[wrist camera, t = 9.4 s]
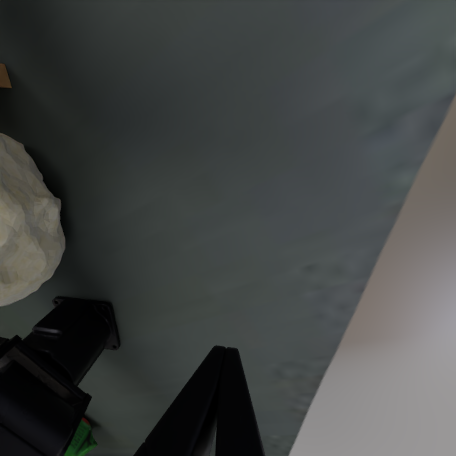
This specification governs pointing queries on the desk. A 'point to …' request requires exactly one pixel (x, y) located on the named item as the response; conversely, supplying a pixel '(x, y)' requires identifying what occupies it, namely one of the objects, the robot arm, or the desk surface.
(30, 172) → the pale lumpy rock
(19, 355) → the robot arm
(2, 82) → the corner stop
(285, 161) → the desk surface
